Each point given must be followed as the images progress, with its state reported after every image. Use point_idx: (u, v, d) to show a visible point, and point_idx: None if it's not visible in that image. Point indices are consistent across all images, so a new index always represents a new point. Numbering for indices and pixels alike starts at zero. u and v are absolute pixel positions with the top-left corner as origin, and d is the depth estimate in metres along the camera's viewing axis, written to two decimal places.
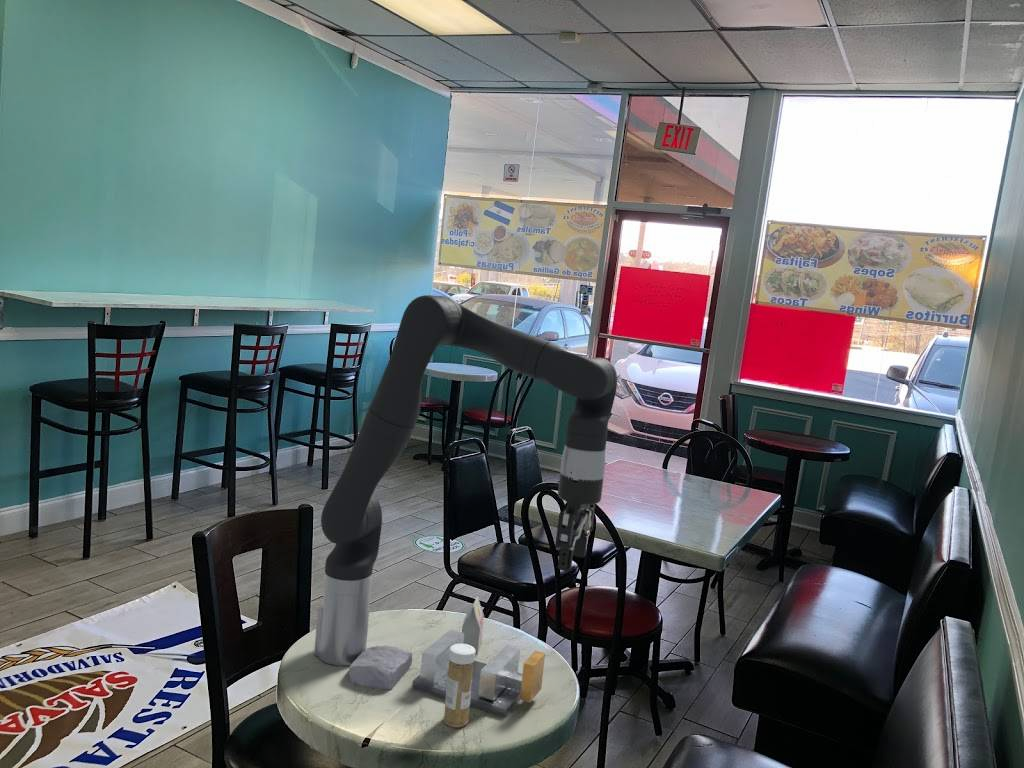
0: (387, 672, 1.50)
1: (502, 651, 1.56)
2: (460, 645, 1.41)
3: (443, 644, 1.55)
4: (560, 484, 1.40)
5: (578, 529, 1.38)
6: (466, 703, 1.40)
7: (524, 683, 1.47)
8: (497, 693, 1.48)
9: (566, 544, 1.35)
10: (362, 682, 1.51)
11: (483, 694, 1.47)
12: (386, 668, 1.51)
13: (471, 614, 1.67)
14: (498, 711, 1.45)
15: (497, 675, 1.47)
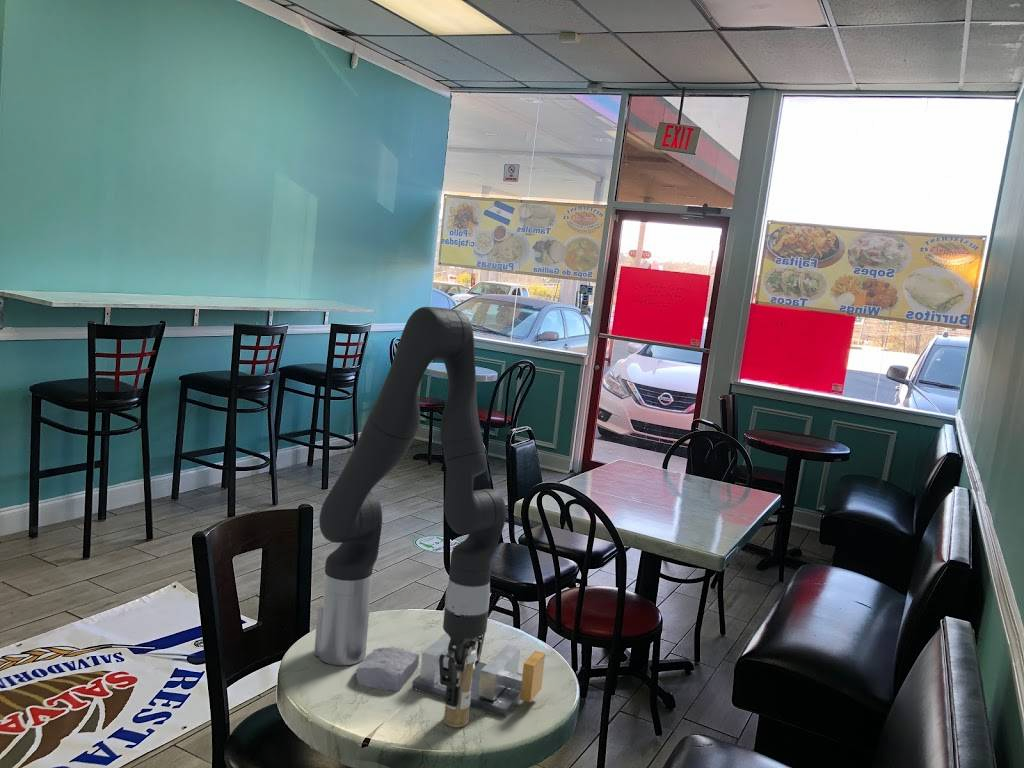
0: (395, 673, 1.50)
1: (502, 651, 1.56)
2: None
3: (443, 644, 1.55)
4: (444, 617, 1.38)
5: (462, 665, 1.37)
6: (466, 703, 1.40)
7: (524, 683, 1.47)
8: (497, 693, 1.48)
9: (450, 684, 1.35)
10: (369, 684, 1.51)
11: (483, 694, 1.47)
12: (393, 670, 1.50)
13: None
14: (498, 711, 1.45)
15: (497, 675, 1.47)
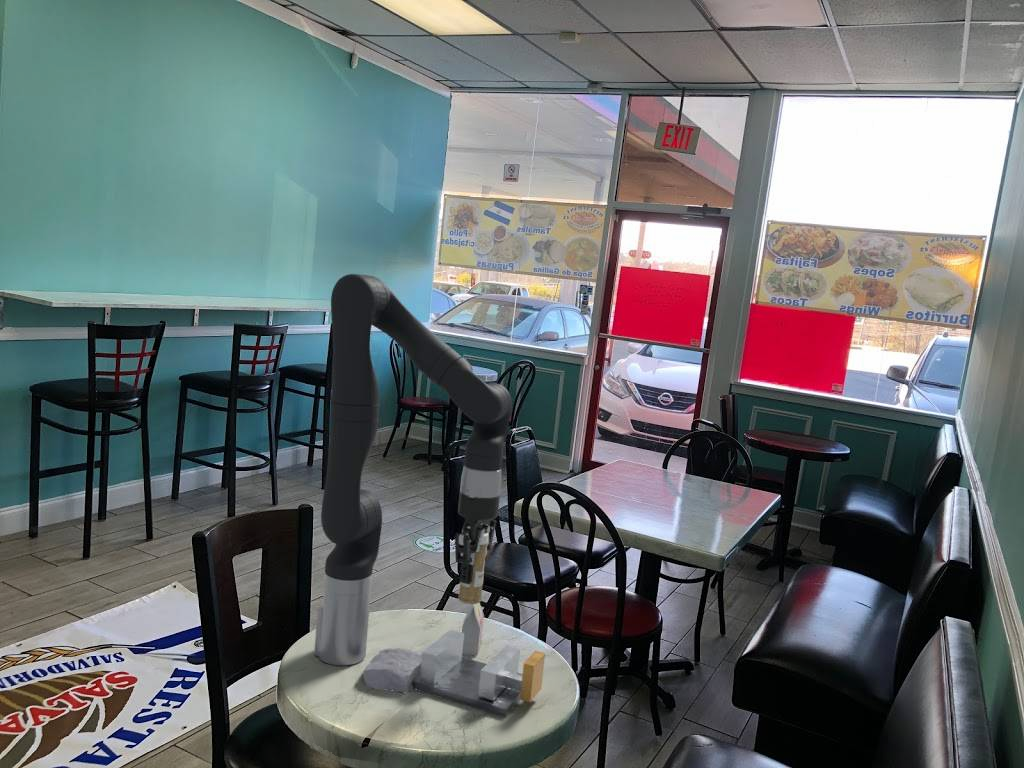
0: (403, 675, 1.50)
1: (502, 651, 1.56)
2: None
3: (443, 644, 1.55)
4: (459, 501, 1.50)
5: (476, 545, 1.49)
6: (480, 582, 1.52)
7: (524, 683, 1.47)
8: (497, 693, 1.48)
9: (465, 560, 1.47)
10: (377, 685, 1.50)
11: (483, 694, 1.47)
12: (401, 671, 1.50)
13: (471, 614, 1.67)
14: (498, 711, 1.45)
15: (497, 675, 1.47)
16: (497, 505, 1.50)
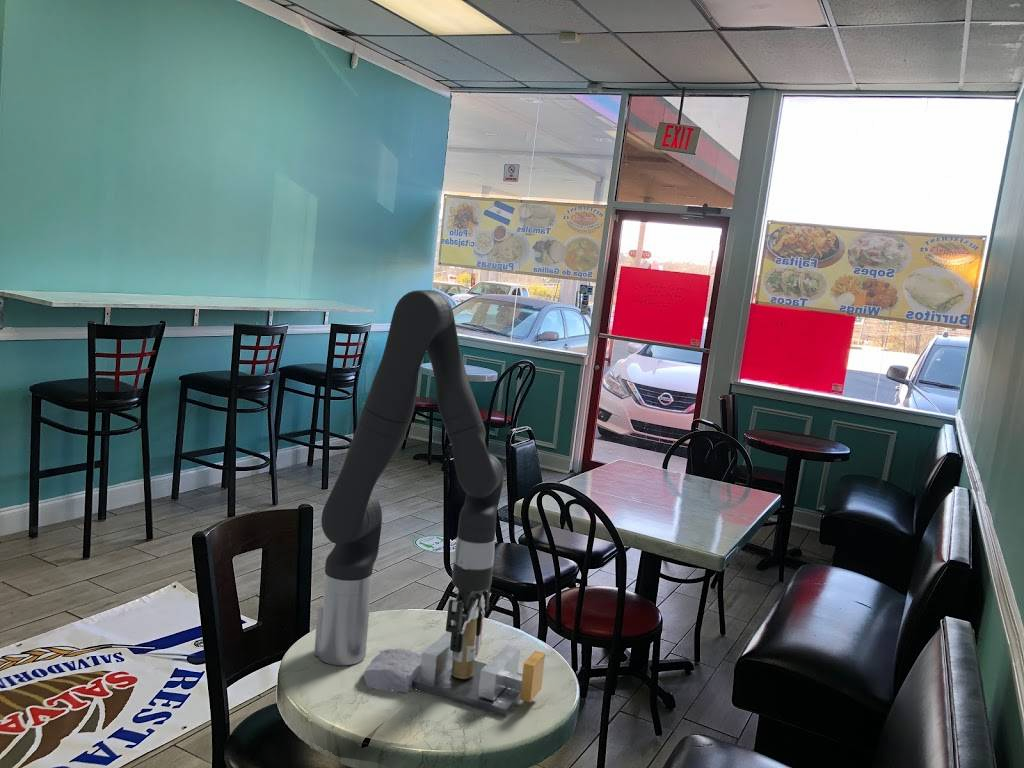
0: (404, 675, 1.49)
1: (502, 651, 1.56)
2: None
3: (443, 644, 1.55)
4: (453, 571, 1.52)
5: (468, 614, 1.50)
6: (472, 656, 1.54)
7: (524, 683, 1.47)
8: (497, 693, 1.48)
9: (455, 629, 1.47)
10: (378, 686, 1.50)
11: (483, 694, 1.47)
12: (402, 671, 1.50)
13: None
14: (498, 711, 1.45)
15: (497, 675, 1.47)
16: (490, 575, 1.52)
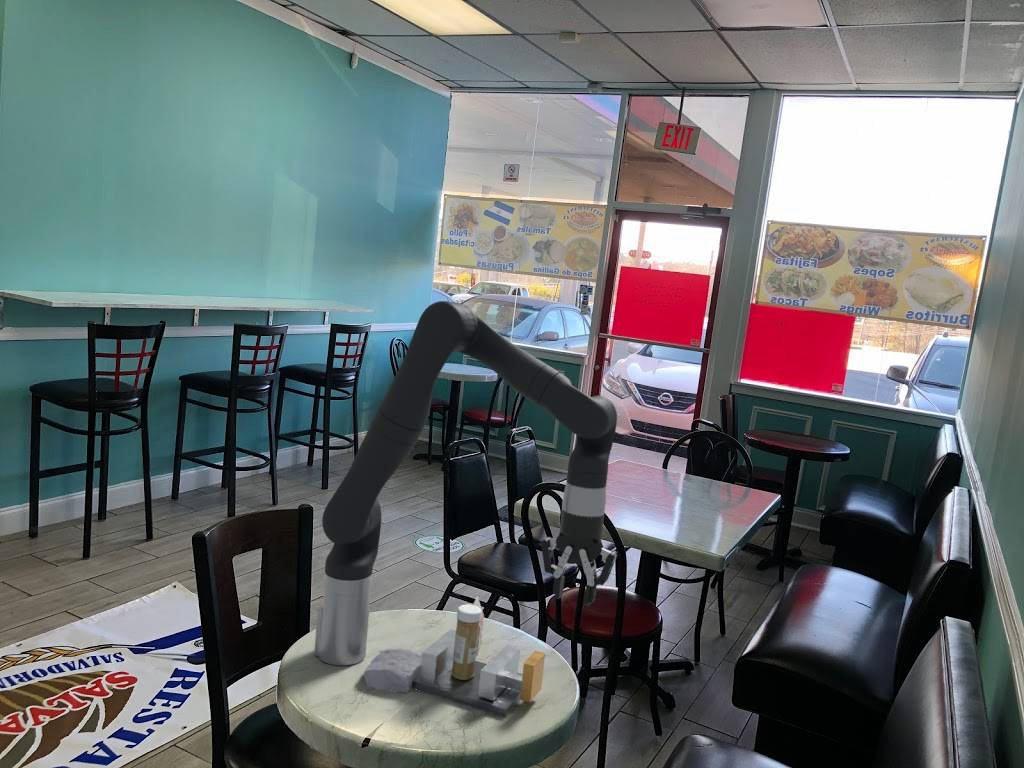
0: (404, 675, 1.49)
1: (502, 651, 1.56)
2: (467, 605, 1.55)
3: (443, 644, 1.55)
4: None
5: (560, 559, 1.45)
6: (473, 658, 1.53)
7: (524, 683, 1.47)
8: (497, 693, 1.48)
9: None
10: (378, 686, 1.50)
11: (483, 694, 1.47)
12: (402, 671, 1.50)
13: None
14: (498, 711, 1.45)
15: (497, 675, 1.47)
16: (576, 525, 1.41)
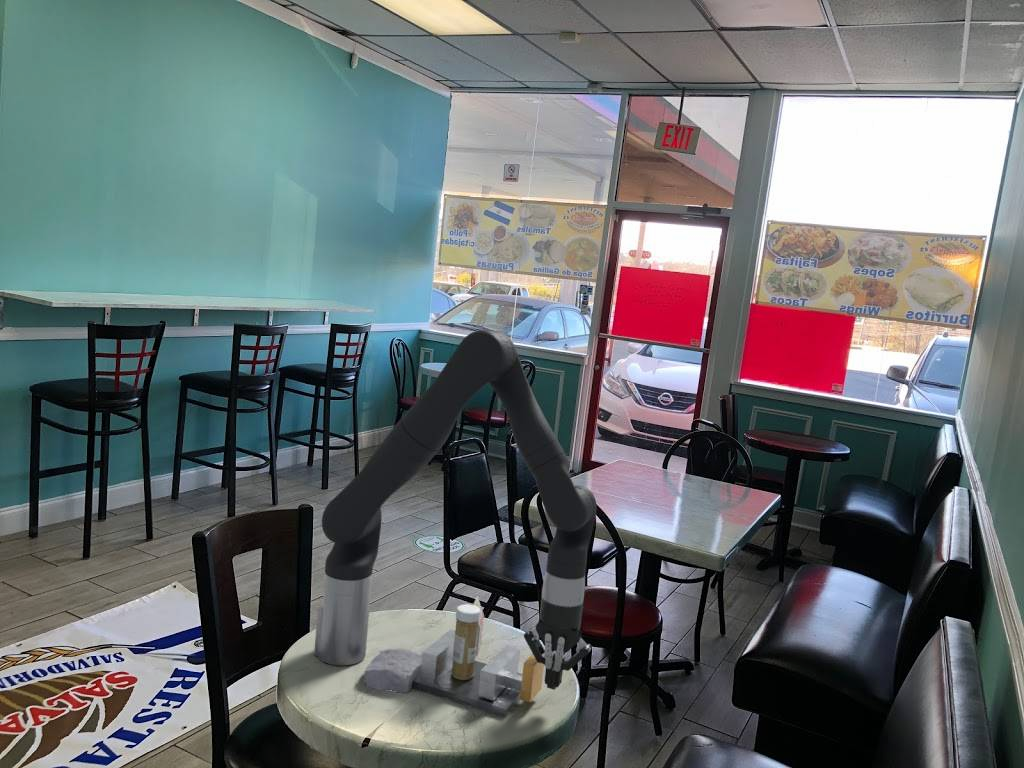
0: (404, 675, 1.49)
1: (502, 651, 1.56)
2: (466, 605, 1.55)
3: (443, 644, 1.55)
4: None
5: None
6: (472, 658, 1.53)
7: (524, 683, 1.47)
8: (497, 693, 1.48)
9: None
10: (378, 686, 1.50)
11: (483, 694, 1.47)
12: (402, 672, 1.50)
13: None
14: (498, 711, 1.45)
15: (497, 675, 1.47)
16: (555, 614, 1.43)
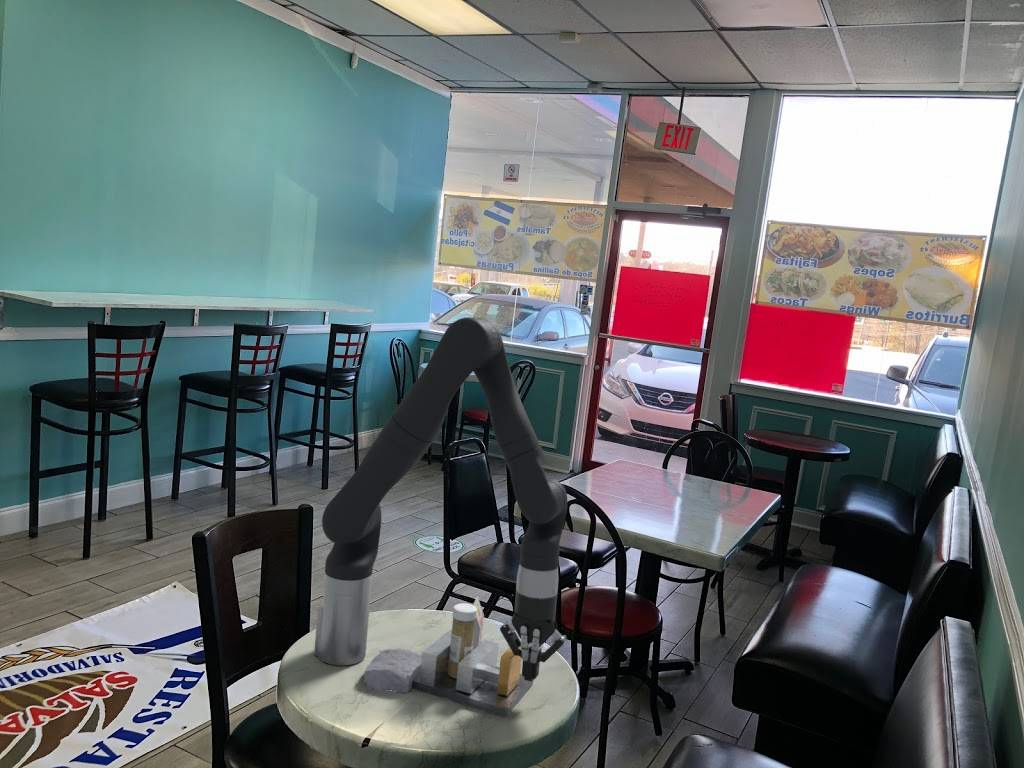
0: (404, 675, 1.49)
1: (480, 645, 1.57)
2: (462, 604, 1.55)
3: (443, 644, 1.55)
4: None
5: None
6: None
7: (501, 676, 1.49)
8: (474, 686, 1.50)
9: None
10: (378, 686, 1.50)
11: (460, 687, 1.49)
12: (402, 672, 1.50)
13: None
14: (498, 711, 1.45)
15: (474, 668, 1.48)
16: (529, 606, 1.45)
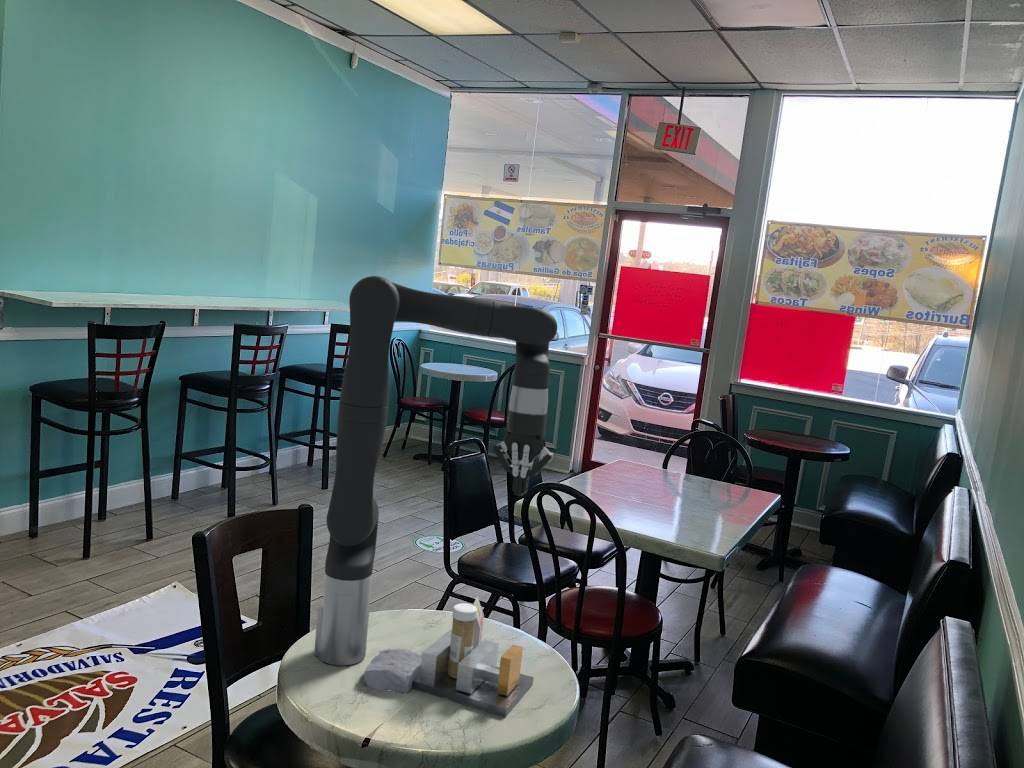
0: (404, 675, 1.49)
1: (480, 645, 1.57)
2: (462, 604, 1.55)
3: (443, 644, 1.55)
4: None
5: None
6: None
7: (501, 676, 1.49)
8: (474, 686, 1.50)
9: None
10: (378, 686, 1.50)
11: (460, 687, 1.49)
12: (402, 672, 1.50)
13: None
14: (498, 711, 1.45)
15: (474, 668, 1.48)
16: (520, 422, 1.57)
